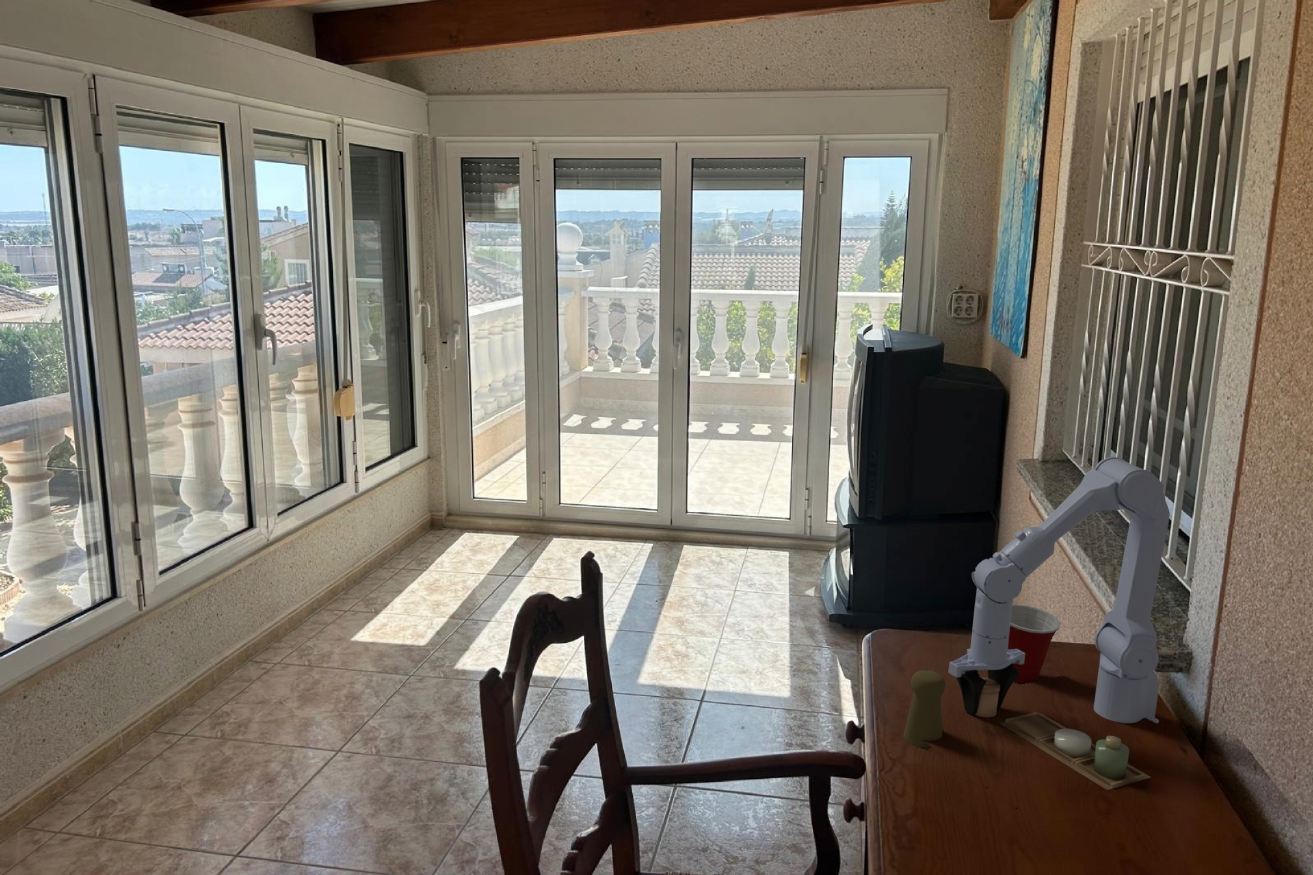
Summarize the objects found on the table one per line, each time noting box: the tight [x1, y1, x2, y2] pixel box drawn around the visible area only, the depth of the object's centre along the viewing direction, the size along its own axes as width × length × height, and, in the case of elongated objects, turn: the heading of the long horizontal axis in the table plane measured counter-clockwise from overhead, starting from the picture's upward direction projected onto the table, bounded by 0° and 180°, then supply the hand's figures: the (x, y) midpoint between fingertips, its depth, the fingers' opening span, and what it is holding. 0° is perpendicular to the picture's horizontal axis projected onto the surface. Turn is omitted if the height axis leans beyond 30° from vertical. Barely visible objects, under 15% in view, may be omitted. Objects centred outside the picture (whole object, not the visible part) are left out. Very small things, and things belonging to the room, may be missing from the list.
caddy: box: [999, 711, 1152, 791], centre depth 152 cm, size 9×21×2 cm, turn 25°
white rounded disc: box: [1054, 728, 1093, 758], centre depth 152 cm, size 5×5×2 cm
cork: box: [903, 669, 946, 749], centre depth 155 cm, size 6×6×11 cm
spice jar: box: [975, 676, 1000, 718], centre depth 163 cm, size 5×5×7 cm
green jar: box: [1093, 735, 1130, 779], centre depth 145 cm, size 4×4×5 cm
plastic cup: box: [1008, 604, 1062, 684], centre depth 178 cm, size 11×11×12 cm
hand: (982, 709), depth 164 cm, fingers closed on spice jar, 5 cm apart
